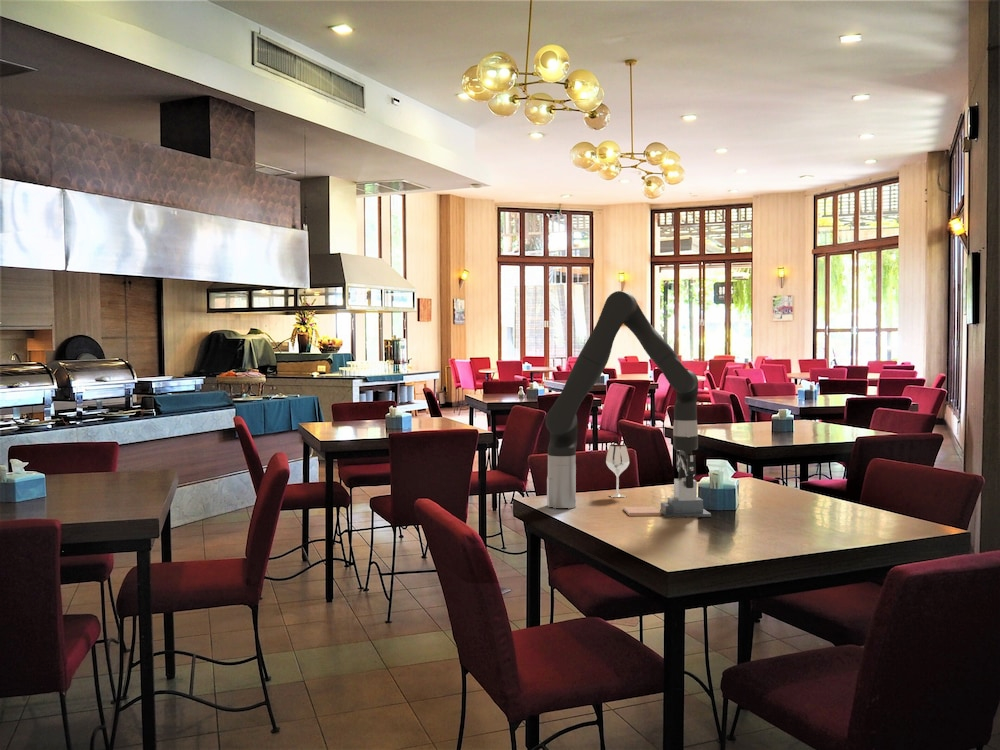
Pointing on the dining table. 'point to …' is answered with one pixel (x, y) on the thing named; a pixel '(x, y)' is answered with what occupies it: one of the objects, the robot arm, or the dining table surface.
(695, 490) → the white cube
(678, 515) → the grey peg stand
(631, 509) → the terracotta tile
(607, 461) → the wineglass
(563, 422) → the robot arm
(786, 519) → the dining table surface
